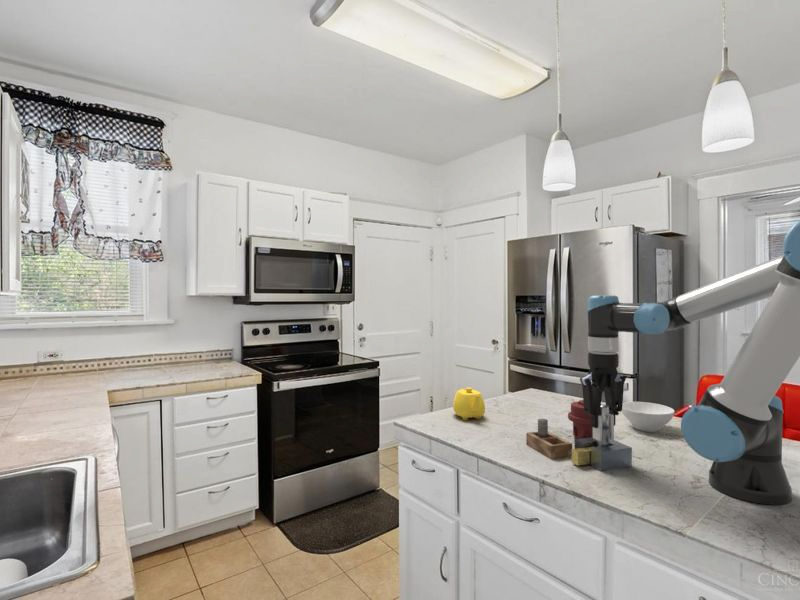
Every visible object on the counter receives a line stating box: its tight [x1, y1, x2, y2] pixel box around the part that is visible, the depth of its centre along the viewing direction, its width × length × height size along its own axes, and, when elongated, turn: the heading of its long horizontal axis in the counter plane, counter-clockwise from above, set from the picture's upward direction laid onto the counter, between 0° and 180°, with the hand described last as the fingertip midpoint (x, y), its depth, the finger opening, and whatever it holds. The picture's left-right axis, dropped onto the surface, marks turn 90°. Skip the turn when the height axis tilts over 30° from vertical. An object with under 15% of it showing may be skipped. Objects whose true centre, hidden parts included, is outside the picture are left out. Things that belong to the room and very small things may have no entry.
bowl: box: [621, 401, 675, 433], centre depth 148 cm, size 16×16×7 cm
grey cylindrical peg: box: [597, 403, 610, 447], centre depth 119 cm, size 3×3×15 cm
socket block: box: [574, 437, 633, 472], centre depth 120 cm, size 10×10×5 cm
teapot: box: [452, 387, 486, 421], centre depth 162 cm, size 18×11×11 cm, turn 13°
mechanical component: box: [567, 399, 593, 440], centre depth 136 cm, size 12×10×10 cm
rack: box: [525, 418, 573, 460], centre depth 128 cm, size 12×7×8 cm, turn 17°
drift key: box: [571, 447, 591, 466], centre depth 118 cm, size 2×7×4 cm, turn 107°
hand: (603, 438), depth 119 cm, fingers closed on grey cylindrical peg, 3 cm apart
